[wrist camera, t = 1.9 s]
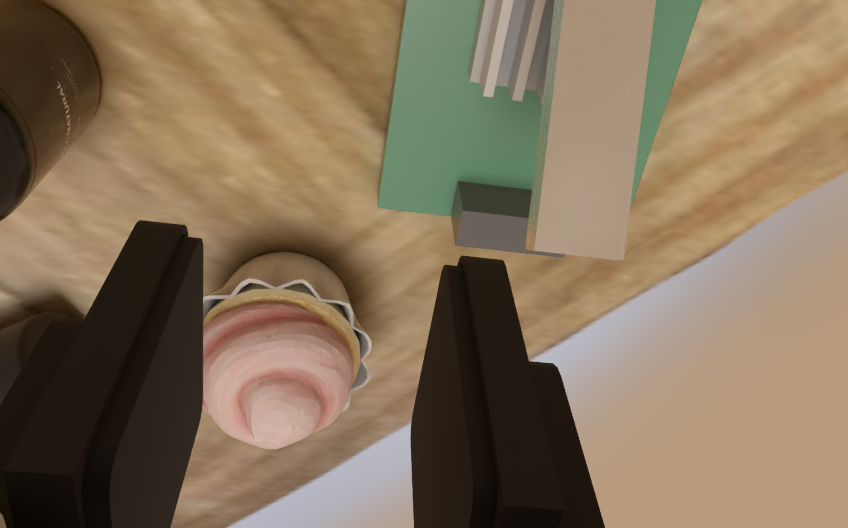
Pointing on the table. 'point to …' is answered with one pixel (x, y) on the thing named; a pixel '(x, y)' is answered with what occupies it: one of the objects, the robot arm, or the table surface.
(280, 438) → the cupcake
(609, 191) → the grey long bar
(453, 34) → the board
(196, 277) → the robot arm
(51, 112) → the supplement bottle
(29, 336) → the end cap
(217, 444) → the table surface
